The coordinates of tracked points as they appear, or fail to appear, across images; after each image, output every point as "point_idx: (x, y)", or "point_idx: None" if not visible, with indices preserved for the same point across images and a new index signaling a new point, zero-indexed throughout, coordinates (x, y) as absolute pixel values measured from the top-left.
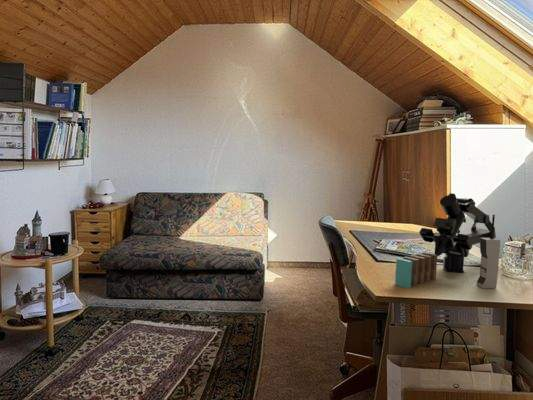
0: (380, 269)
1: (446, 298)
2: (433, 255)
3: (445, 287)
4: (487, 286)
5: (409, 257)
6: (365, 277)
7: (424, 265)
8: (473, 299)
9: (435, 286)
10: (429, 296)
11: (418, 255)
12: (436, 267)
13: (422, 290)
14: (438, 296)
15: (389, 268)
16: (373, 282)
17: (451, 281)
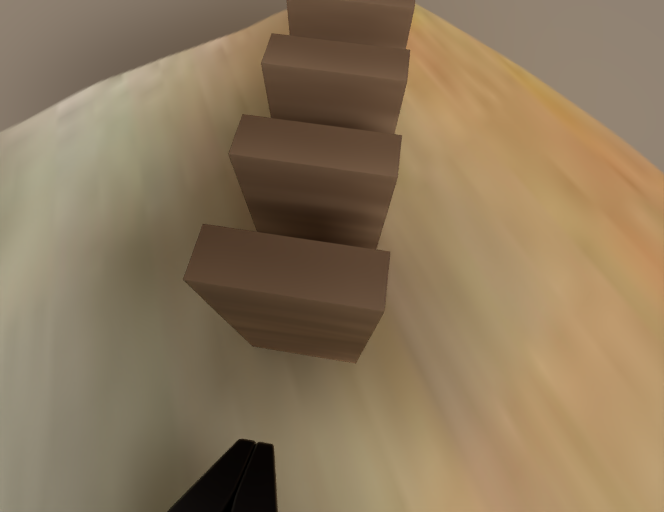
0: (652, 302)
1: (131, 76)
2: (225, 230)
3: (159, 216)
4: None
5: (376, 3)
6: (554, 103)
7: (272, 117)
8: (10, 131)
9: (213, 196)
10: (201, 57)
11: (369, 137)
12: (229, 323)
13: (251, 102)
14: (167, 77)
15: (647, 384)
16: (474, 67)
17: (141, 381)
